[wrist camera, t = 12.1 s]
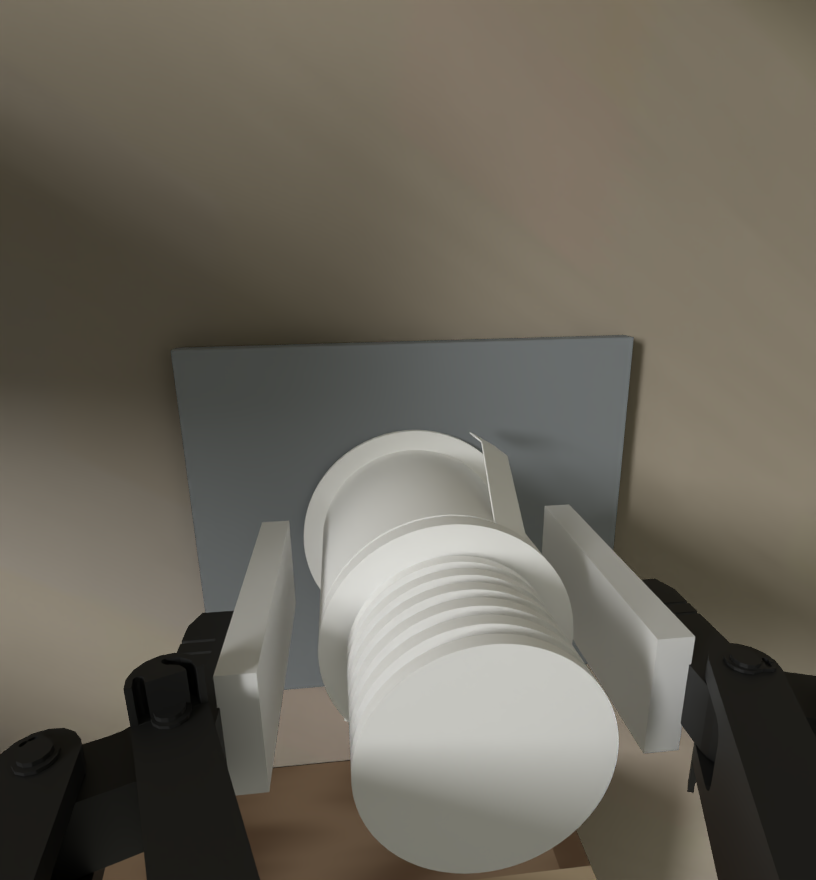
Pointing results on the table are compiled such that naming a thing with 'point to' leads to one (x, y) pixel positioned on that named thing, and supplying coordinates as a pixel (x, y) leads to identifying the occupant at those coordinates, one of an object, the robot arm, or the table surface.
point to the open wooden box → (345, 837)
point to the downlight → (452, 657)
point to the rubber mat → (380, 412)
